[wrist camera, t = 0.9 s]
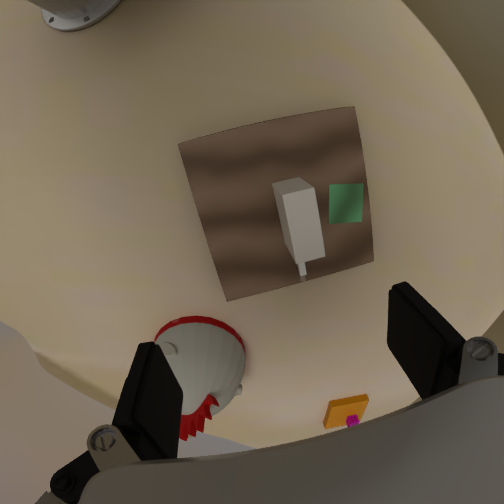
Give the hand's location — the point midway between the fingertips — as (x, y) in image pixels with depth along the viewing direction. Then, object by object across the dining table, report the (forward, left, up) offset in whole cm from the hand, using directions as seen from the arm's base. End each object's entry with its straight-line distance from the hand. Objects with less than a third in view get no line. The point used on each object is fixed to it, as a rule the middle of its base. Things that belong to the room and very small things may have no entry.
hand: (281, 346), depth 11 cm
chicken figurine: (+22, -12, -27) cm, 36 cm away
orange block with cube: (+47, +10, -27) cm, 55 cm away
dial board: (+3, +5, -26) cm, 27 cm away
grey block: (+5, +5, -24) cm, 25 cm away
